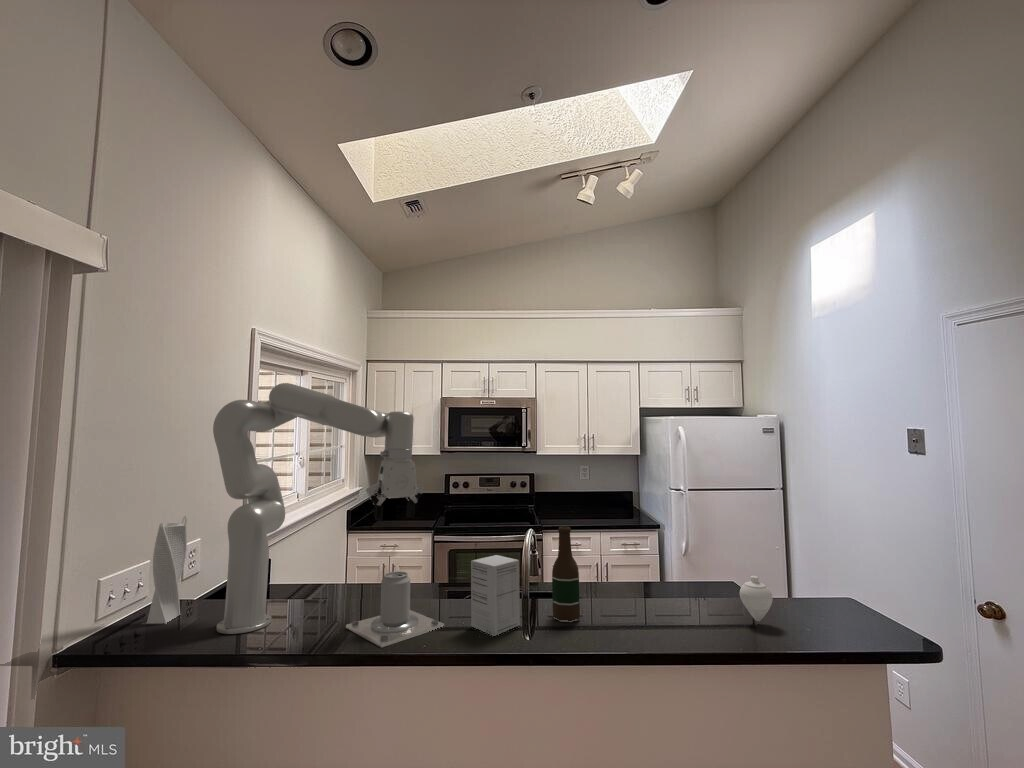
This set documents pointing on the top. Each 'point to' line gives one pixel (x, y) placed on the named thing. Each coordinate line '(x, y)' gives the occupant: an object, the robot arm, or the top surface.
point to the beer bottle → (565, 580)
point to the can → (395, 598)
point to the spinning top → (756, 598)
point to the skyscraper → (167, 571)
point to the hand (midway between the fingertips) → (394, 518)
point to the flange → (393, 629)
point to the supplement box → (495, 594)
